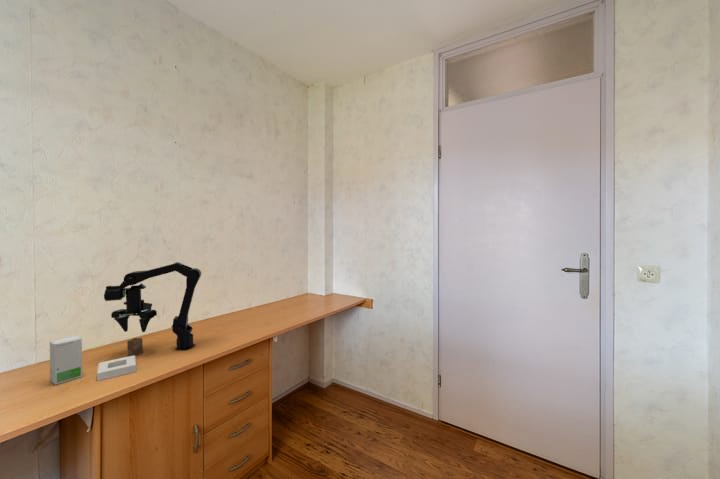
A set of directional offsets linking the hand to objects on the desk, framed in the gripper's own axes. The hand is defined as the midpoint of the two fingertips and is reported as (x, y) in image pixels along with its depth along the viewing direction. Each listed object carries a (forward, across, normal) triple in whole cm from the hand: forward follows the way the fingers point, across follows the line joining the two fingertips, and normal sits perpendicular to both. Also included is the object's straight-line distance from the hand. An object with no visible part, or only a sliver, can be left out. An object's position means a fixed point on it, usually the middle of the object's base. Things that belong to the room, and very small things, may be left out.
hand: (134, 331), depth 141 cm
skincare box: (+11, +7, +24) cm, 27 cm away
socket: (+11, -7, +16) cm, 20 cm away
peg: (+11, 0, 0) cm, 11 cm away
